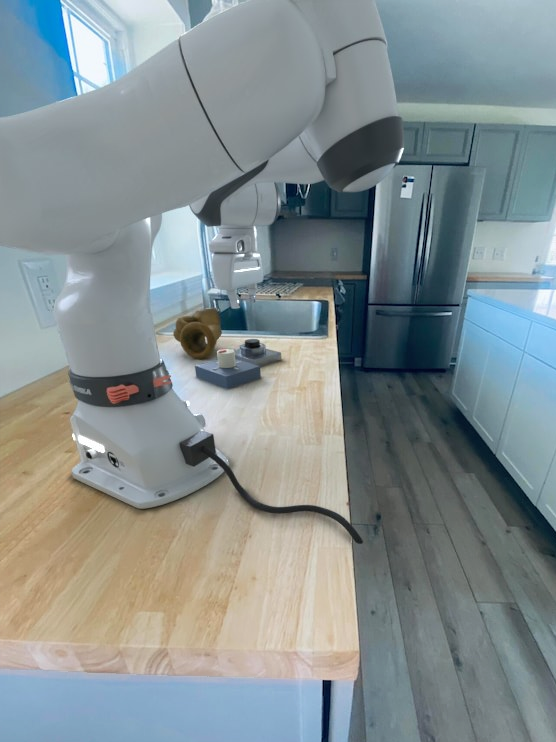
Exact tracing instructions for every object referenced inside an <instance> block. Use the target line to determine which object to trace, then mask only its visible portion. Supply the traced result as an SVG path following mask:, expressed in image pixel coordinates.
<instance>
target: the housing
mask: <svg viewBox="0 0 556 742" xmlns="http://www.w3.org/2000/svg"><path fill="white" fill-rule="evenodd" d="M233 350H234V351H235V359H237V360H241V361H244V362H247V363H251V364H254V365H257V366H260V367H263V366H267V365H270V364H273V363H276V362H279V361H282V352H281V351H276V350H273V349H269V348H267V346H266V344H265V343H262V342H260V347H257V348H247V347H245V343H241V344H240V345H239V347H238V348H235V349H233Z"/></svg>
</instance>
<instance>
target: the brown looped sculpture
mask: <svg viewBox="0 0 556 742" xmlns="http://www.w3.org/2000/svg"><path fill="white" fill-rule="evenodd" d="M222 334H223V331H222V328H221V318H220V314H219V311H218V309H217V308H216V307H213V308H211V307H210V308H209V307H207V308H206V309H203V310H196V311H195V312H194V313H193V314H192V315H185V316H180V317H178V318H177V319H176V322H175V329H174V330H173V335H172V336H173V337H174V339H175V340H176V341H177V342H179V343H180V346H181V348H182V349H183V351H184V353H186V354H187V355H188V356H190V357H191V358H193V359H196V360H205V359H207V358H210V356H212V355H213V353H214V351H215V348H216V345H217V342H218V340H219V339H220V338H221V336H222Z"/></svg>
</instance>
